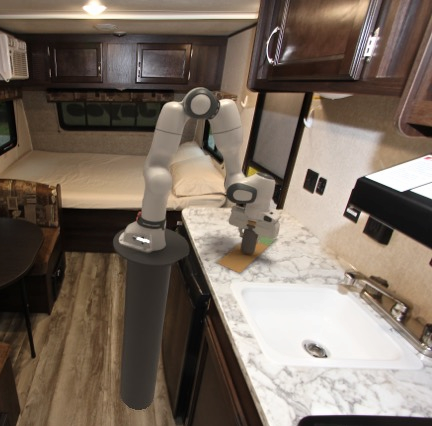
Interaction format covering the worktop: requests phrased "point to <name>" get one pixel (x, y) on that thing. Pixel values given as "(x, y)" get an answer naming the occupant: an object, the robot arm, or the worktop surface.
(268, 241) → the pad
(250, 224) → the bottle
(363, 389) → the worktop surface
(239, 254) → the plate
